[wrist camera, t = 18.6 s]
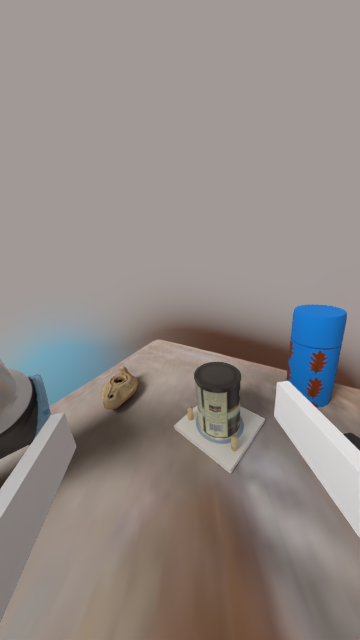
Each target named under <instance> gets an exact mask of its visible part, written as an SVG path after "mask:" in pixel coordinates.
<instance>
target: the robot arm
mask: <svg viewBox="0 0 360 640" xmlns="http://www.w3.org/2000/svg"><path fill="white" fill-rule="evenodd" d="M274 417H275V418H276V420H277V421H278V423H279V424H280V425H281V427H282V428H283V430H284V431H285V433H286V434H287V435H288V437H289V438H290V440H291V441H292V442H293V444H294V445H295V447H296V448H297V450H298V451H299V452H300V454H301V455H302V457H303V458H304V460H305V461H306V462H307V464H308V465H309V467H310V468H311V469H312V471H313V472H314V474H315V475H316V477H317V478H318V479H319V481H320V482H321V484H322V485H323V486H324V488H325V489H326V491H327V492H328V494H329V495H330V496H331V498H332V499H333V501H334V502H335V504H336V505H337V506H338V508H339V509H340V511H341V512H342V513H343V515H344V516H345V518H346V519H347V521H348V522H349V523H350V525H351V526H352V528H353V529H354V531H355V532H356V533H357V535H358V536H359V538H360V438H359V437H357V436H355V435H354V434H352V433H347V434H342V433H341V432H340V431H339V430H338V429H337V428H336V427H335V426H334V425H333V424H332V423H331V422H330V421H329V420H328V419H327V418H326V417H325V416H324V415H323V414H322V413H321V412H320V411H319V410H318V409H317V408H316V407H315V406H314V405H313V404H312V403H311V402H310V401H309V400H308V399H307V398H306V397H305V396H303V395H302V394H301V393H300V392H299V391H298V390H297V389H296V388H295V387H294V386H293V385H292V384H291V383H290V382H289V381H284V382H277V388H276V400H275V412H274ZM27 445H30V446H29V448H28V449H27V451H26V452H25V454H24V455H23V456H22V458H21V459H20V461H19V462H18V464H17V465H16V467H15V468H14V470H13V471H12V473H11V474H10V475H9V477H8V478H7V480H6V481H5V483H4V484H3V486H2V487H1V489H0V621H1V619H2V617H3V614H4V612H5V610H6V608H7V605H8V603H9V601H10V598H11V596H12V594H13V592H14V589H15V587H16V585H17V582H18V580H19V578H20V575H21V573H22V571H23V569H24V566H25V564H26V562H27V559H28V557H29V555H30V553H31V550H32V548H33V546H34V543H35V541H36V539H37V536H38V534H39V532H40V530H41V527H42V525H43V523H44V520H45V518H46V516H47V514H48V511H49V509H50V507H51V504H52V502H53V500H54V497H55V495H56V493H57V491H58V488H59V486H60V484H61V481H62V479H63V477H64V475H65V472H66V470H67V468H68V465H69V463H70V461H71V459H72V456H73V454H74V452H75V449H76V447H77V446H76V444H75V441H74V438H73V435H72V432H71V430H70V427H69V424H68V421H67V419H66V416H65V413H59V414H52V415H51V413H50V410H49V404H48V399H47V395H46V391H45V387H44V383H43V380H42V378H41V376H40V375H38V374H36V375H29V376H26V375H24V374H23V373H21V372H19V371H17V370H13V369H7V368H6V367H5V365H4V364H3V363H2V361H1V360H0V459H1V458H3V457H5V456H7V455H9V454H11V453H13V452H15V451H17V450H19V449H21V448H23V447H25V446H27Z"/></svg>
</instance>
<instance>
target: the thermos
mask: <svg viewBox="0 0 360 640" xmlns="http://www.w3.org/2000/svg"><path fill="white" fill-rule="evenodd" d="M346 318H347V313H346V311H345V310H343V309H341V308H337V307H333V306H326V305H302V306H298V307H296V308H295V310H294V313H293V322H292V332H291V341H290V351H289V362H288V371H287V381H289V382H290V383H291V384H292V385H293V386H294V387H295V388H296V389H297V390H298V391H299V392H300V393H301V394H302V395H303V396H305V397H306V398H307V399H308V400H309V401H310V402H311V403H312V404H313V405H314V406H315V407H323V406H325V405H327V404H328V403H329V401H330V397H331V394H332V390H333V386H334V381H335V376H336V371H337V366H338V360H339V355H340V350H341V345H342V340H343V335H344V330H345V325H346Z"/></svg>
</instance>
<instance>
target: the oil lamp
mask: <svg viewBox="0 0 360 640" xmlns="http://www.w3.org/2000/svg"><path fill="white" fill-rule="evenodd" d="M137 386H138V381H137V379H136V378H135V377H134V376H132V375H131V374H130V373H129V372H128V370H127V369H126V367H124V366H123V367H120V370H119V374H117V375H115V376H113V377H112V378H110V380H109V381H108V382H107V383H106V384H105V385H104V386H103V389H102V399H103V403H104V408H106V409H116V408H118V407H119V406H120V405H121V404H123V403H124V402H125V401H126V400H127V399H129V398H130V397H131V396H132V395H133V394H134V393H135V391H136V389H137Z"/></svg>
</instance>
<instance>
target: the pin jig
mask: <svg viewBox="0 0 360 640" xmlns="http://www.w3.org/2000/svg"><path fill="white" fill-rule="evenodd" d="M187 412H188V413H187V414H186V415H185V416H184V417H183V418H182V419H181V420H180V421H179V422H177V423H176V424H175V425H174V429H175V430H177V431H178V432H179V433H180V434H182V435H183V436H184V437H185V438H187V439H188V440H189V441H190V442H192V443H193V444H194V445H195V446H197V447H198V448H199V449H200V450H202V451H203V452H204V453H205V454H207V455H208V456H209V457H210V458H212V459H213V460H214V461H215V462H217V463H218V464H219V465H220V466H222V467H223V468H224V469H225V470H227V471H228V472H229V473H230V474H231V473H232V471H233V470H234V468H235V467H236V465H237V464H238V462H239V461H240V459H241V458H242V456H243V455H244V453H245V452H246V450H247V448H248V447H249V445H250V444H251V442H252V441H253V439H254V438H255V436H256V435H257V433H258V432H259V430H260V429H261V427H262V426H263V424H264V422H265V418H263V417H261V416H259V415H257V414H255V413H253V412H251V411H249V410H247V409H245V408H243V407H241V406H240V430H239V432H238V434H237V435H232V436H231V439H229V440H224V441H219V440H214V439H211V438H209V437H207V436H206V435H205V434H204V433H203V432H202V431H201V429H200V427H199V423H198V408H197V405H196V406H195V407H194V408H192V407H188V408H187Z"/></svg>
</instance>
